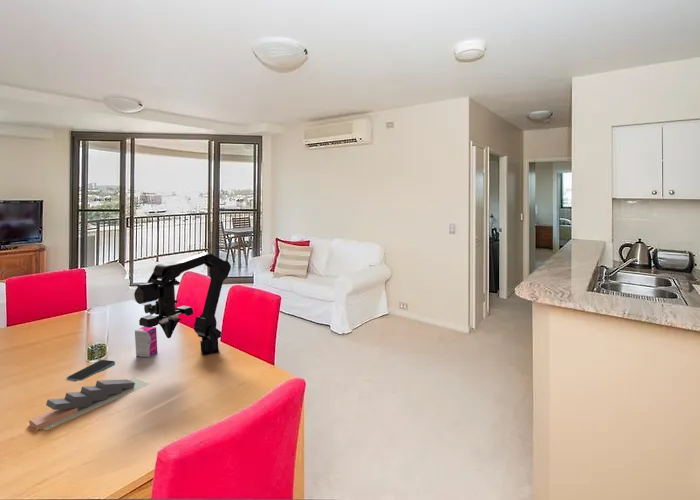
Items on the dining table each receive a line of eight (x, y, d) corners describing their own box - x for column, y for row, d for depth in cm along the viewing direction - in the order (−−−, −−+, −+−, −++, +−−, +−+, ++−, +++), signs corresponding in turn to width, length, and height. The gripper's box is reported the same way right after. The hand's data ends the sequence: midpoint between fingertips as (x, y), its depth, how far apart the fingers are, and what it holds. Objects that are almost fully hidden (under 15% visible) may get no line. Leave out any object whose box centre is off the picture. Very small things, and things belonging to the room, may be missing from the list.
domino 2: (83, 396, 118) (47, 399, 110) (92, 400, 116) (55, 404, 107) (82, 401, 118) (45, 405, 109) (90, 406, 116) (54, 409, 107)
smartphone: (64, 378, 134) (101, 359, 148) (65, 380, 134) (101, 362, 148) (81, 380, 132) (116, 361, 146) (81, 383, 132) (116, 363, 146)
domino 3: (100, 390, 122) (66, 392, 114) (108, 394, 120) (74, 397, 111) (98, 395, 122) (64, 398, 114) (106, 399, 120) (72, 402, 111)
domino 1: (69, 403, 115) (29, 419, 106) (77, 407, 112) (36, 425, 104) (69, 407, 115) (29, 425, 106) (77, 412, 112) (37, 430, 104)
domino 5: (126, 379, 130) (96, 380, 121) (135, 382, 127) (105, 384, 119) (125, 384, 130) (95, 385, 121) (133, 387, 127) (103, 389, 119)
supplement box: (148, 358, 151) (146, 331, 149) (135, 357, 152) (133, 330, 150) (158, 352, 156) (156, 326, 155) (146, 351, 157) (144, 325, 156)
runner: (134, 378, 134) (134, 377, 134) (149, 384, 130) (149, 383, 130) (31, 421, 108) (31, 420, 108) (46, 431, 104) (46, 430, 104)
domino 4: (113, 384, 126) (82, 386, 118) (122, 388, 124) (90, 390, 115) (112, 389, 126) (80, 391, 117) (120, 393, 123) (88, 395, 115)
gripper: (174, 289, 151) (176, 327, 153) (128, 300, 134) (131, 341, 136) (193, 293, 145) (195, 331, 147) (147, 304, 129) (150, 347, 131)
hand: (168, 337), depth 141 cm, fingers closed
